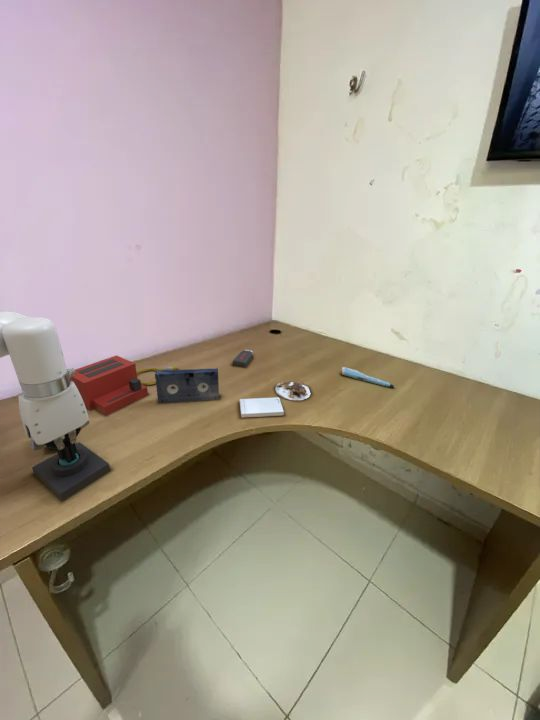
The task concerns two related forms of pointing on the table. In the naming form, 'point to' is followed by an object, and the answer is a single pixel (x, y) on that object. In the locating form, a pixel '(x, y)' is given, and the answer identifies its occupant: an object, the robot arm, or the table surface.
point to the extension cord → (156, 370)
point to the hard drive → (261, 407)
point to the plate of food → (292, 390)
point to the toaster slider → (135, 384)
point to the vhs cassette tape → (187, 385)
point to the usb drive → (243, 358)
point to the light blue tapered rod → (364, 377)
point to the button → (65, 463)
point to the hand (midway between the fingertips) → (69, 458)
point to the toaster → (108, 384)
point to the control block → (71, 472)
